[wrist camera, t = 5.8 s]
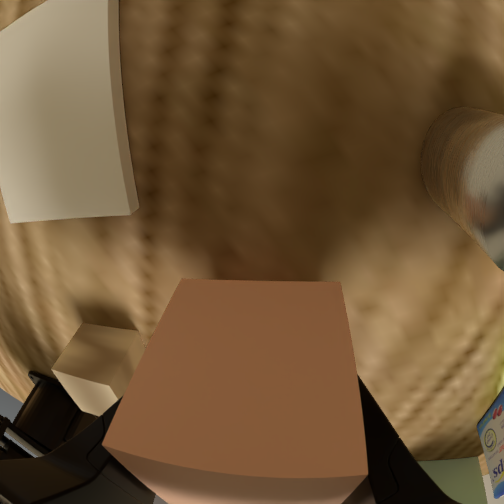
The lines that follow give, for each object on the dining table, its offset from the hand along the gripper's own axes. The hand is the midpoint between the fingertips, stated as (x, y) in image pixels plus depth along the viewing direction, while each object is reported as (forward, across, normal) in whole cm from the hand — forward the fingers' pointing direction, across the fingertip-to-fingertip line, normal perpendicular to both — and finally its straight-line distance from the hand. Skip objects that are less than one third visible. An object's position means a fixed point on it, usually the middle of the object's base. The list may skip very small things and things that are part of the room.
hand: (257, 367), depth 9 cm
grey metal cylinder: (+4, -8, -6) cm, 11 cm away
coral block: (+1, 0, 0) cm, 1 cm away
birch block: (+4, +9, +5) cm, 11 cm away
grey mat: (+4, +9, -9) cm, 13 cm away
